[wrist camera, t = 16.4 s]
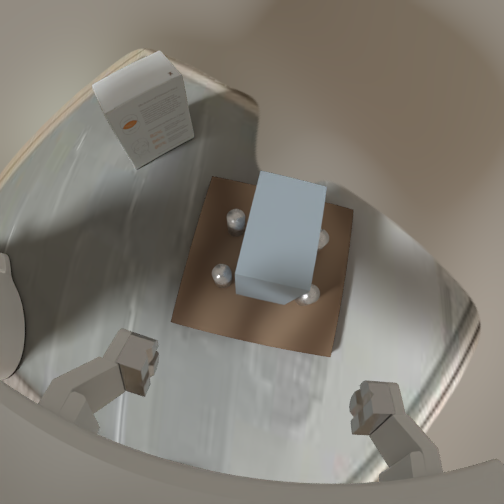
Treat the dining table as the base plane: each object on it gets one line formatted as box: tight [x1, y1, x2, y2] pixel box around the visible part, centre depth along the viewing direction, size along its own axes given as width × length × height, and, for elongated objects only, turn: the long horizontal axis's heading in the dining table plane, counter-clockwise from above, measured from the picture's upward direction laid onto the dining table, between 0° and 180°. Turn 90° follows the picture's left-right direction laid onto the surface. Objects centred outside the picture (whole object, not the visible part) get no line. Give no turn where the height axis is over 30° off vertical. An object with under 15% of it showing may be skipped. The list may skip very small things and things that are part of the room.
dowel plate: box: [171, 176, 353, 357], centre depth 27 cm, size 15×15×4 cm
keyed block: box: [235, 171, 327, 305], centre depth 23 cm, size 4×7×10 cm, turn 167°
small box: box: [92, 50, 194, 169], centre depth 28 cm, size 8×6×10 cm
